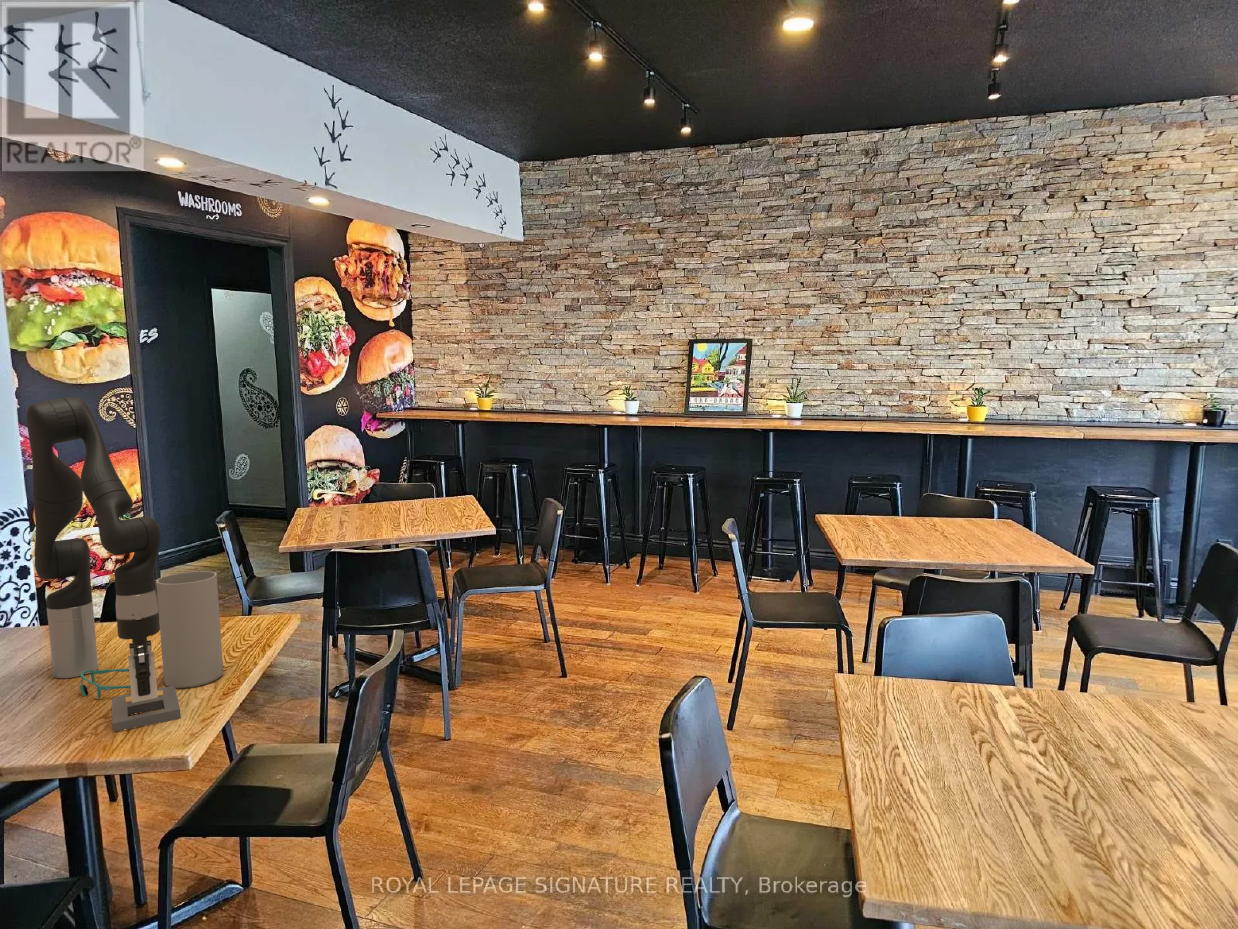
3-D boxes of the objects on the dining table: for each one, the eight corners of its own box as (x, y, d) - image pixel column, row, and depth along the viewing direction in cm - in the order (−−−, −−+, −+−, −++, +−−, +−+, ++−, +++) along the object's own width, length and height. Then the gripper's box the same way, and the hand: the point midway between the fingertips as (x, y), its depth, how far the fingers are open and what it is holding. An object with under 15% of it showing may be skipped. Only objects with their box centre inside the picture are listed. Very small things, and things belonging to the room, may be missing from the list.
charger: (131, 696, 164) (128, 654, 163) (156, 691, 167) (153, 649, 166) (132, 703, 161) (128, 659, 160) (157, 697, 163) (154, 654, 162)
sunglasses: (76, 687, 182) (76, 666, 182) (149, 678, 191) (149, 658, 191) (82, 706, 171) (82, 684, 171) (159, 695, 181) (160, 674, 180)
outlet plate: (112, 706, 170) (111, 696, 170) (175, 693, 177) (174, 684, 176) (113, 733, 157) (112, 722, 157) (180, 718, 163) (179, 707, 163)
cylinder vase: (161, 677, 187) (153, 576, 184) (218, 666, 194) (211, 568, 191) (167, 693, 177) (159, 587, 174) (227, 680, 184) (220, 578, 181)
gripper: (116, 608, 166) (122, 685, 167) (116, 624, 154) (123, 707, 156) (156, 602, 170) (162, 677, 172) (160, 617, 158) (166, 698, 160)
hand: (144, 691), depth 164 cm, fingers closed on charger, 4 cm apart
